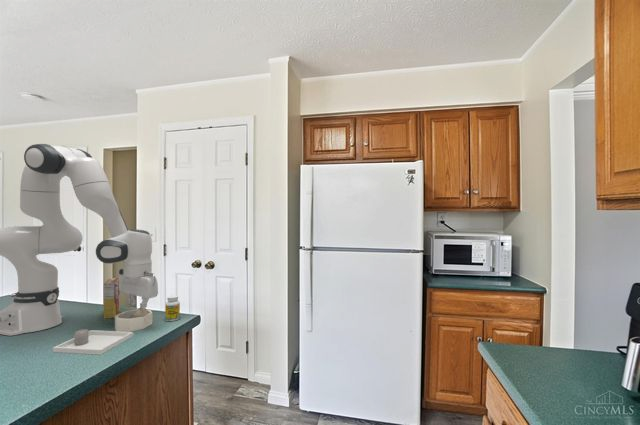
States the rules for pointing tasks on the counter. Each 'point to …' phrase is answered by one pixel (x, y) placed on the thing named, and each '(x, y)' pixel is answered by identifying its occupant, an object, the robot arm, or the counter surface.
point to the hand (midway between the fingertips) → (137, 306)
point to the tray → (95, 342)
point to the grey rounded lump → (128, 316)
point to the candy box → (111, 298)
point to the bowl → (132, 321)
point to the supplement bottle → (172, 308)
